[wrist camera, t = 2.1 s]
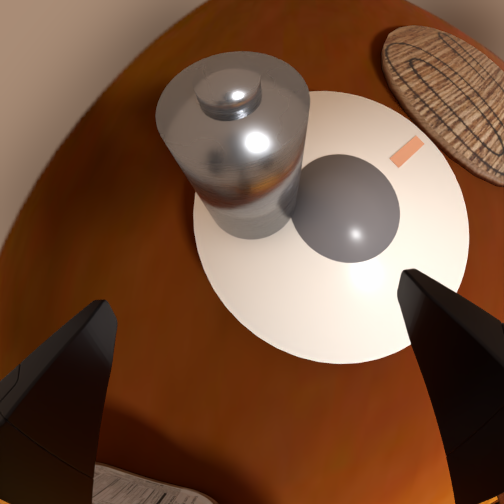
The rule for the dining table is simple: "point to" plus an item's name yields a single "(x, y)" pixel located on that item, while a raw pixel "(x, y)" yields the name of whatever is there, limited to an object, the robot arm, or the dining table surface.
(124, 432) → the dining table surface
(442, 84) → the trivet
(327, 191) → the turntable
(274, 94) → the grey metal cylinder
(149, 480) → the tin
